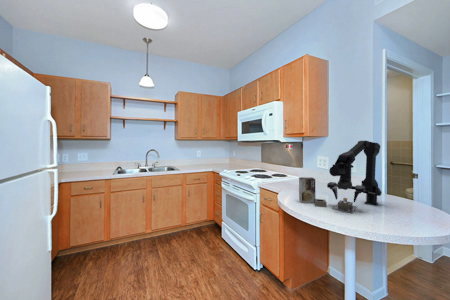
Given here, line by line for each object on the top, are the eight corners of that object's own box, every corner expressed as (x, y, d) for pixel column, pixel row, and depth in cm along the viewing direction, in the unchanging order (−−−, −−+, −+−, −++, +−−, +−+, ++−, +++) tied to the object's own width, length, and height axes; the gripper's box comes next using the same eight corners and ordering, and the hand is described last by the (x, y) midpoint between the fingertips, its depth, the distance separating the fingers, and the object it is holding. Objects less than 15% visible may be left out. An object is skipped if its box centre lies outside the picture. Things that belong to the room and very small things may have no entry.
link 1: (314, 203, 126) (314, 198, 126) (324, 204, 124) (324, 199, 124) (315, 206, 120) (315, 201, 120) (326, 207, 118) (326, 202, 118)
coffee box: (312, 200, 133) (312, 177, 132) (315, 203, 126) (315, 178, 126) (298, 200, 134) (298, 177, 133) (301, 202, 127) (301, 178, 127)
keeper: (338, 204, 125) (339, 194, 124) (357, 207, 118) (357, 197, 117) (332, 209, 114) (332, 199, 114) (352, 213, 108) (352, 202, 107)
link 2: (340, 205, 120) (340, 200, 120) (352, 207, 116) (352, 202, 116) (337, 207, 116) (337, 202, 116) (350, 209, 111) (350, 204, 111)
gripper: (324, 175, 116) (324, 200, 117) (361, 178, 103) (361, 207, 104) (330, 173, 124) (329, 197, 125) (365, 176, 111) (365, 203, 112)
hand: (345, 200), depth 116 cm, fingers open, 9 cm apart
